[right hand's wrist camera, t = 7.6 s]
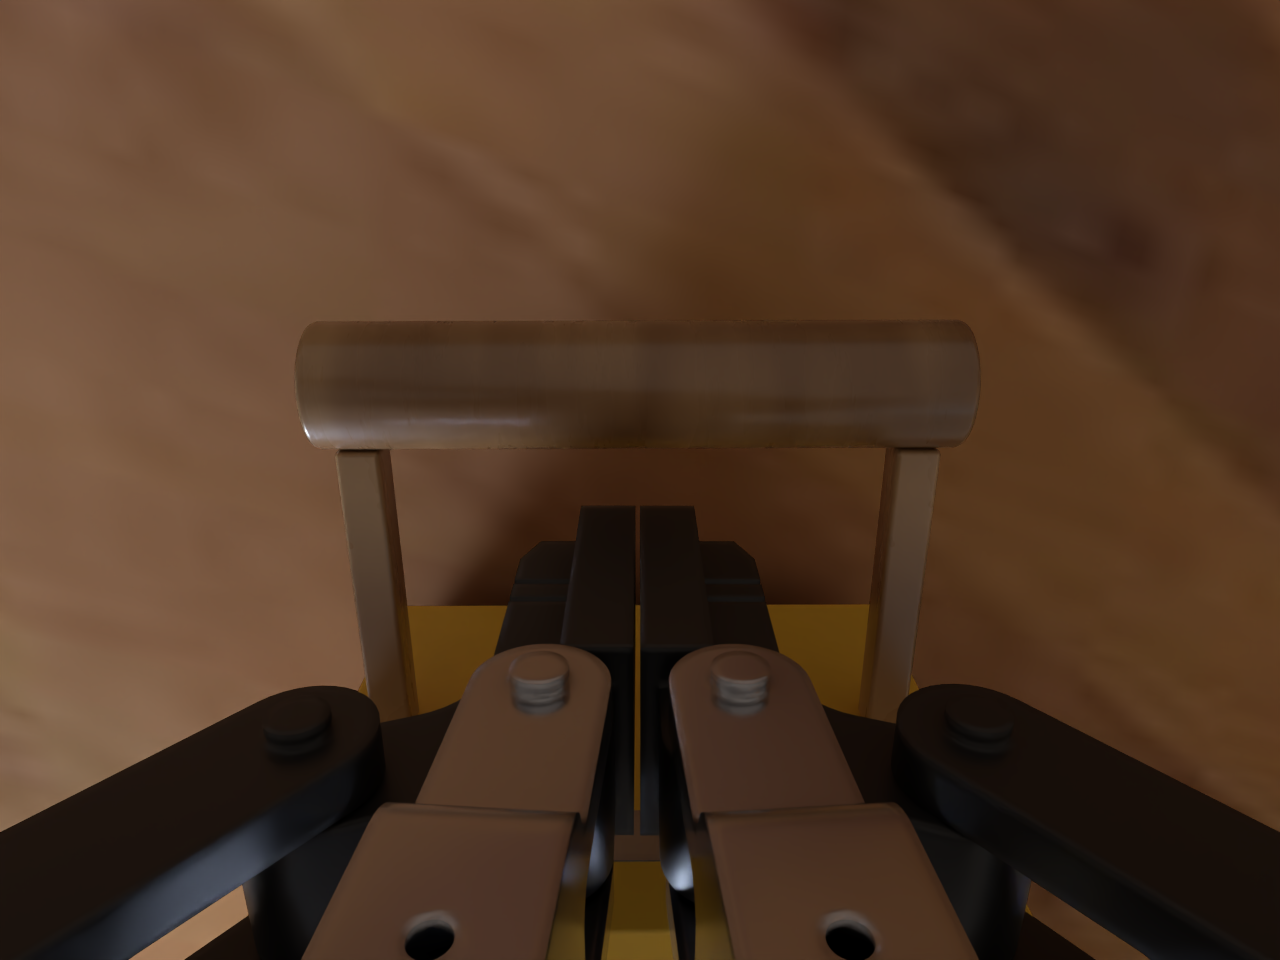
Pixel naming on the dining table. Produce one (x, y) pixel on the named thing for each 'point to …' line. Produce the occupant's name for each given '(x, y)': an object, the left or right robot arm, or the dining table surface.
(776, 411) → the drawer
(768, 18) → the dining table surface
